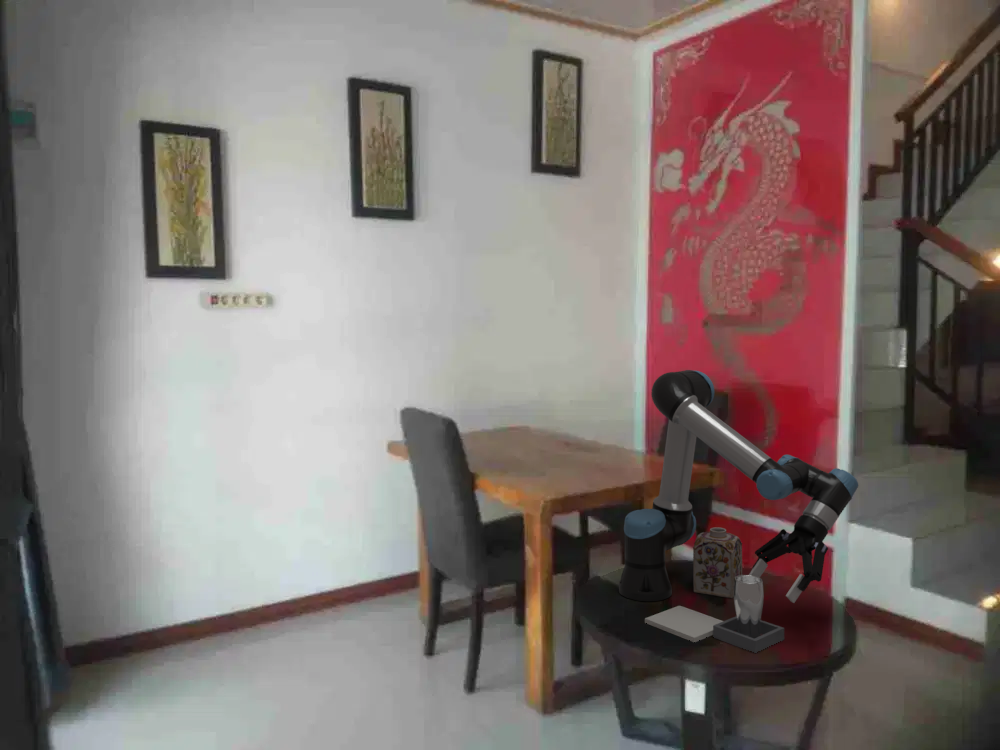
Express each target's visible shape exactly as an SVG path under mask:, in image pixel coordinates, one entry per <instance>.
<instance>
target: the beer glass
mask: <svg viewBox="0 0 1000 750" xmlns="http://www.w3.org/2000/svg"><path fill="white" fill-rule="evenodd" d="M763 581H764V580H763V579H762V578H761V577H760V578H759V577H756V576H752V575H749V574H742V575H739V576H736V577H735V583H734V597H733V602H734V603H733V604H734V610H735V614H736V615H735V616H737V630H735V632H737V633H740V634H743V635H746V636H748V637H751V638H754V639H755V638H757V637H759V636H761V635H762V634H761V633H760V620H762V614H763V610H764V609H763V608H764V607H763V606H764V583H763Z"/></svg>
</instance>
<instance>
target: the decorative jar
mask: <svg viewBox="0 0 1000 750" xmlns="http://www.w3.org/2000/svg"><path fill="white" fill-rule="evenodd" d="M692 550H693V551H692V552H693V554H692V555H693V556H692V557H693V558H692V560H693V561H692V562H693V563H692V564H693V567H692V569H693V570H692V572H693V573H692V574H693V576H692V577H693V580H692V581H693V582H692V583H693V592H694V593H698V594H702V595H709V596H716V597H721V598H727V599H728V598H729V599H734V583H735V577H736V576H739V575H743V542H742V540H741V539H740V537H739V536H737V535H735V534H733V533H730V532H727V529H726V528H724V527H711V528H710V529H709V531H705V532H704V531H703V532H700V533H699V534H697V535H696V538H695V542H694V544H693V547H692Z"/></svg>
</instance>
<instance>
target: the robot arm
mask: <svg viewBox="0 0 1000 750" xmlns="http://www.w3.org/2000/svg"><path fill="white" fill-rule="evenodd" d="M715 392H716V391H715V386H714V384H713V381H712V380H711V378H710V377H709V376H708V375H707V374H706V373H704V372H702V371H699V370H696V369H695V370H692V369H685V370H680V371H679V370H678V371H671V372H670V371H669V372H666V373H663V374H661V375H660V376H659V377H657V379H655V381H654V383H653V384H652V387H651V399H652V402H653V404H654V406H655V408H656V409H657V410H658V411H659V412H660V413H661V414H662V415H663V416H664V417H666V418H667V419H668V424H667V433H666V440H665V448H664V454H663V462H662V463H663V464H662V472H661V479H660V484H659V485H660V487H659V492H658V493H659V494H658V496H656V497H655V498H654V499H653V500H652V508H642V509H637V510H636V509H635V510H633V511H630V512H629V513H627V514H626V516H625V518H624V525H623V531H624V532H623V533H624V536H623V538H624V567H623V570H622V573H621V576H620V580H619V582H618V592H619V594H620V596H622V597H624V598H625V599H626V598H627V599H631V600H634V601H640V602H658V601H663V600H667V599H669V598H670V597H671V596H672V592H673V591H672V590H673V589H672V588H673V586H672V583H671V581H670V579H669V575H668V571H667V568H666V551H668V550H670V549H673V548H675V547H678V546H682V545H683V544H685V543H686V542H688V541H689V540H690V539H691V538H692V537H693V536H694V534H695V532H696V530H697V520H696V519H697V518H696V516H695V515H694V512H693V505H692V503H691V502H690V501H689V495H690V488H691V483H692V482H691V480H692V473H693V472H692V471H693V468H694V467H693V464H694V458H695V450H696V443H697V438H698V439H700V441H702V443H704V444H706V446H708V447H709V448H710V449H712V450H713V451H714V452H715V453H717V454H718V455H719V456H721V457H722V458H723V459H725V460H726V461H727V462H728V463H730V464H732V466H733V467H735V468H736V469H737V470H738V471H740V472H741V473H743V475H745V476H746V477H747V478H748V479H750V480H751V481H753V482H754V483H755V484H756V489H757V491H758V493H759V494H760V495H761V497H763V498H764V499H766V500H769V501H777V500H783V499H785V498H787V497H788V496H790V495H793V494H795V493H798V492H800V493H802V494H803V495H804V494H805V495H806V496H807V497H810V498H811V500H810V501H809V503H808V504H807V506H805V509H804V510H803V511H802V515H800V516H799V517H798V519H797V520H796V521H795V523H794V525H793V531H792V532H791V533H789V532H787V530H786V529H784V528H782V529H781V530H780V531H779V533H778V534H777V535H775V536H774V537H773V538H771V539H770V540H768V542H766V543H764V544H763V545H762V546H760V547H759V548H758V549H756V550H755V551H754V554H755V556H756V557H758V558H757V560H756V561H755V563H754V564H753V565H752V569H751V571H750V572H749V574H748V575H752V576H756V577H759V578H761V577H762V575H763V573H764V572H765V570H766V569H767V568H768V566H769V565H768V563H769V562H772V561H773V560H775V559H777V558H780V557H782V556H783V555H786V554H791V553H793V554H797V555H799V556H801V558H802V559H801V561H802V567H803V571H802V573H799V575H798V577H797V578H796V580H795V581H794V582H793V584H792V586H790V589H789V590H788V592H787V593H786V595H785V597H786V598H787V599H788V600H789V601H790V603H793V604H795V602H797V600H798V598H799V597H800V595H801V594H802V592H805V591H806V589H807V588H808V586H809V585H810V583H811V582H814V581H816V582H821V581H822V577H823V576H822V575H823V569H824V564H825V558H826V554H827V552H828V550H829V548H828V546H827V545H826V544H825V543H824V542H823V541H825V538H826V537H827V535H828V534H829V531H830V530H832V528H833V526H834V525H835V523H836V522H837V520H838V519H839V517H840V516H841V515H842V513H843V512H844V510H845V508H846V507H847V505H848V504H849V503H850V501H851V500H852V499H853V496H854V495H855V492H856V491H857V489H858V488H859V482H858V480H857V478H856V477H855V476H854V475H853V474H851V473H850V472H848V471H846V470H845V469H841V468H838V467H836V468H833V469H832V470H831V471H829V472H826V471H824V470H822V469H819V468H817V467H815V466H814V465H811V464H809V463H808V462H805V461H803V460H802V459H800V458H799V457H795V456H793V455H791V454H783V455H782V456H781V457H780V458H779V459H778V460H777V461H776V460H774V458H771V456H769V455H768V454H767V453H765V452H764V451H763V450H761V449H760V448H759V447H757V446H756V445H755V444H753V443H752V442H751V441H750V440H749V439H747V438H745V437H744V436H743V435H741V434H740V433H739V432H738V431H737V430H735V429H734V428H732V427H731V426H729V425H728V424H727V423H725V422H724V421H723V420H722V419H720V417H718V416H716V415H715V414H714V413H713V412H711V411H710V410H708V408H707V407H708V406H710V404H712V402H713V400H714V397H715ZM813 551H814V554H813Z"/></svg>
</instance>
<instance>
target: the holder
mask: <svg viewBox="0 0 1000 750" xmlns="http://www.w3.org/2000/svg"><path fill="white" fill-rule="evenodd" d="M722 621H723V622H721V623H718V624H716V625H713V635H712V638H713V637H714V639H717V640H719V641H722V642H724V643H727V644H730V645H732V646H734V647H736V648H739V649H742V648H743V649H742V650H745V649H746V650H745V651H748V650H749V651H748V652H750V651H752V652H751V653H753V652H754V653H753V654H755V653H756V654H757V652H758V651H760V652H762V651H764V650H766V649H768V648H770V647H772V646H771V645H773V646H775V645H777V644H779V643H781V642H783V641H785V627H782V626H780V625H777V624H774V623H771V622H767V621H765V620H762V619H760V633H761V636H759V637H757V638H755V639H754V638H751V637H748V636H746V635H743V634H740V633H737V632H736V631H737V616H736V615H735V616H733V617H731V618H728V619H726V620H722ZM780 641H781V642H780ZM778 642H779V643H778ZM776 643H777V644H776ZM774 644H775V645H774ZM769 646H770V647H769ZM767 647H768V648H767ZM765 648H766V649H765ZM763 649H764V650H763ZM761 650H762V651H761ZM758 653H759V652H758Z"/></svg>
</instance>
